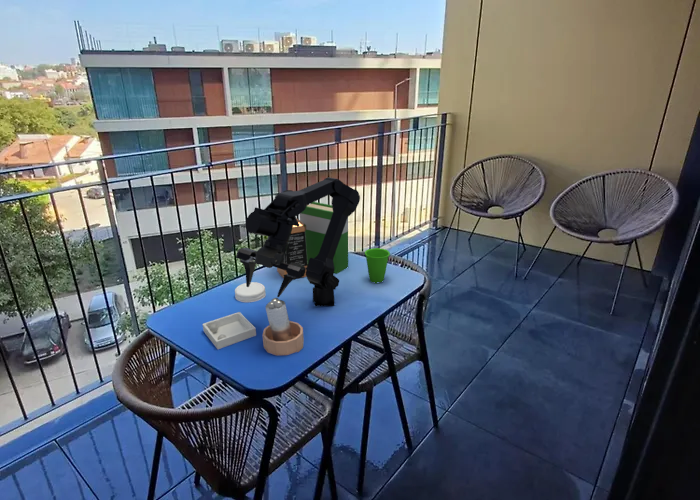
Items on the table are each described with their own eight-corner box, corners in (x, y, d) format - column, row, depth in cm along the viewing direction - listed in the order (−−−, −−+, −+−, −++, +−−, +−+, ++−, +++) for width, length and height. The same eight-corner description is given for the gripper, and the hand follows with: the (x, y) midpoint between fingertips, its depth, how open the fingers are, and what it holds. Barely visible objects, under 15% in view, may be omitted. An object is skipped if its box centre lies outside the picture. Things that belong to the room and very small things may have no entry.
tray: (240, 320, 126) (239, 311, 124) (256, 337, 117) (255, 327, 116) (203, 332, 119) (202, 323, 118) (217, 351, 111) (216, 341, 110)
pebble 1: (219, 329, 120) (218, 322, 119) (217, 334, 118) (216, 326, 117) (211, 329, 120) (209, 322, 119) (208, 334, 117) (207, 327, 117)
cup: (393, 278, 152) (394, 251, 148) (381, 288, 145) (382, 259, 141) (372, 273, 157) (372, 246, 153) (359, 282, 150) (359, 254, 146)
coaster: (230, 296, 141) (229, 286, 139) (257, 288, 146) (256, 279, 145) (243, 307, 133) (241, 298, 132) (270, 298, 139) (270, 289, 138)
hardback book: (302, 263, 166) (299, 205, 157) (314, 257, 172) (312, 201, 163) (336, 273, 156) (335, 213, 148) (348, 267, 162) (347, 208, 153)
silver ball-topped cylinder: (288, 332, 116) (279, 291, 110) (296, 342, 112) (287, 299, 106) (271, 340, 114) (261, 298, 108) (278, 350, 110) (268, 307, 104)
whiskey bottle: (276, 271, 159) (270, 189, 147) (300, 266, 163) (296, 186, 152) (285, 281, 151) (279, 195, 139) (310, 275, 155) (307, 192, 143)
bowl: (304, 333, 119) (303, 320, 117) (302, 356, 109) (301, 341, 107) (267, 335, 118) (265, 321, 116) (261, 357, 108) (260, 343, 107)
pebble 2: (228, 339, 115) (227, 332, 114) (226, 344, 113) (225, 337, 112) (219, 340, 115) (218, 332, 114) (217, 345, 113) (216, 337, 112)
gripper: (235, 228, 107) (219, 285, 108) (303, 249, 105) (286, 307, 106) (251, 228, 118) (236, 280, 119) (312, 248, 116) (296, 300, 117)
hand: (262, 291), depth 115 cm, fingers open, 9 cm apart
